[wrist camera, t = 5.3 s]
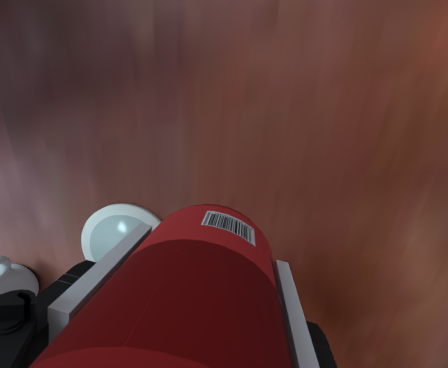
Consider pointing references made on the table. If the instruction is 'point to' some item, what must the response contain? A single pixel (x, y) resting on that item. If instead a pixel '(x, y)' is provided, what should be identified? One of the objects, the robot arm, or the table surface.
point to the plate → (112, 228)
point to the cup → (16, 277)
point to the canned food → (184, 302)
